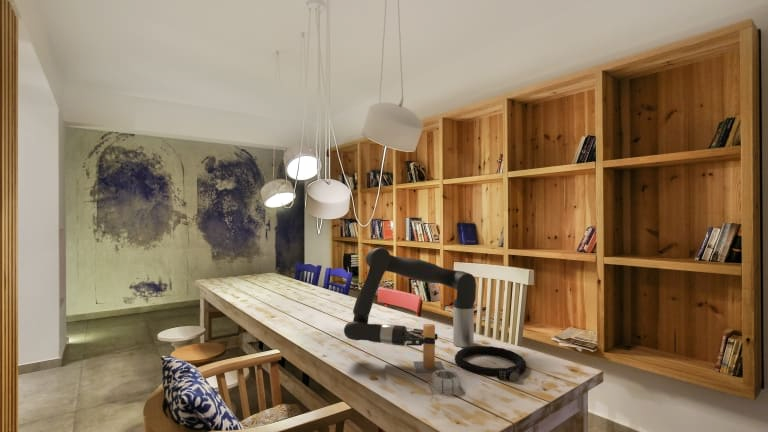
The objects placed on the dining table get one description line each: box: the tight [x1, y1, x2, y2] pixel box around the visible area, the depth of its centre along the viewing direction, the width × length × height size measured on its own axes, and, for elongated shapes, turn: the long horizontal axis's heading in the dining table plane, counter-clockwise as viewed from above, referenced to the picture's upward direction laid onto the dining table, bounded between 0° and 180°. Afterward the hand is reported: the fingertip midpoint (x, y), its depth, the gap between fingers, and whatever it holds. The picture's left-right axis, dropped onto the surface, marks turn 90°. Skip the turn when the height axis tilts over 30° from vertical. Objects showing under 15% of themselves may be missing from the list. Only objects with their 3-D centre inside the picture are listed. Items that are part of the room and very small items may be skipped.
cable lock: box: [454, 345, 527, 383], centre depth 148 cm, size 28×4×30 cm
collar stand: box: [426, 369, 466, 396], centre depth 127 cm, size 11×11×5 cm
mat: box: [413, 360, 446, 374], centre depth 144 cm, size 11×11×1 cm
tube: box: [422, 323, 436, 369], centre depth 144 cm, size 4×4×16 cm
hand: (436, 339), depth 143 cm, fingers open, 5 cm apart
